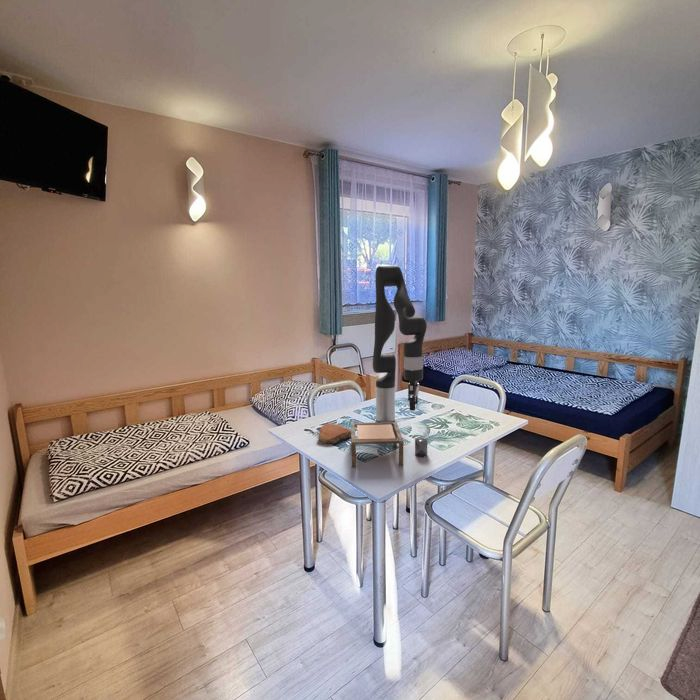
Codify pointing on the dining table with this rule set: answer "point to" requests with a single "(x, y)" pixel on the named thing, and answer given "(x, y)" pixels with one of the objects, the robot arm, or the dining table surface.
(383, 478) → the dining table surface
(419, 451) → the cylinder
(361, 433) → the trapdoor
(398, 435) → the trapdoor frame
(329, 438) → the reddish brown rock
